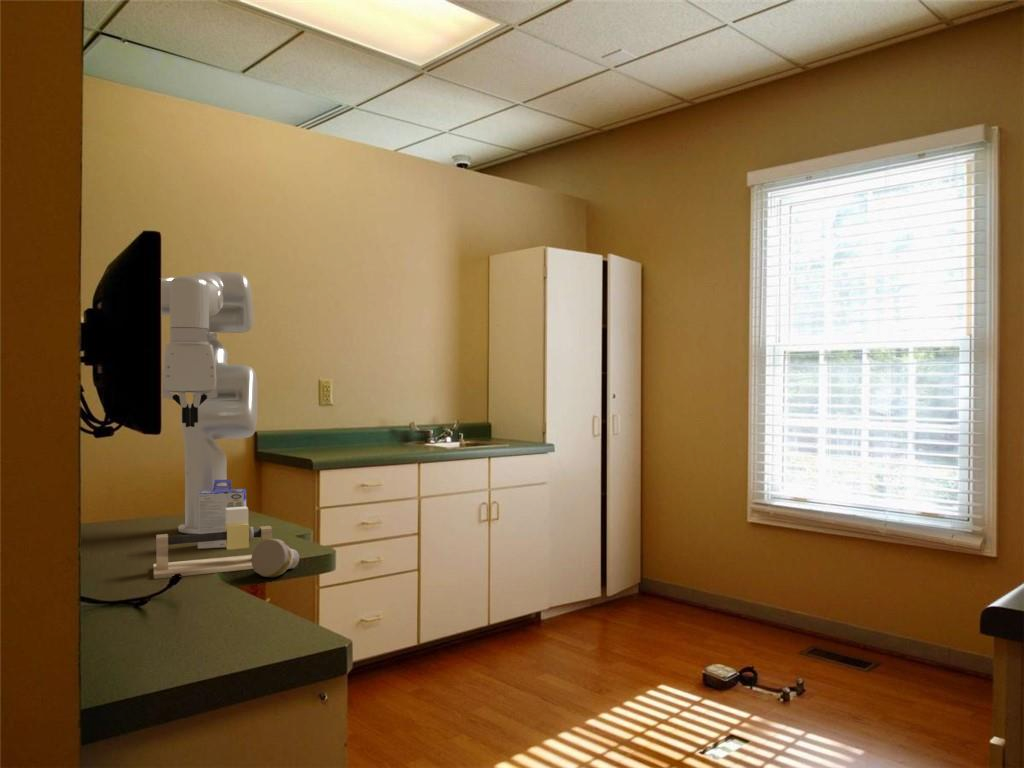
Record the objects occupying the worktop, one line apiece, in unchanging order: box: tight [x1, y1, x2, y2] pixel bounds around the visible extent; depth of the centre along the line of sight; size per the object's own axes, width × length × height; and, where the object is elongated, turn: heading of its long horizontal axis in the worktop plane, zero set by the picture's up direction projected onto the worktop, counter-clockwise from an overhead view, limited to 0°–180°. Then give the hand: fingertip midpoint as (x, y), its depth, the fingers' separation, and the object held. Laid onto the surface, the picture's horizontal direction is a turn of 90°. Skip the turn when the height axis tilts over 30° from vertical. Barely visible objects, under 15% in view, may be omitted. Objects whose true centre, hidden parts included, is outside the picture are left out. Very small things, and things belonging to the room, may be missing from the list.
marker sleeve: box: [225, 505, 250, 551], centre depth 152 cm, size 5×4×8 cm
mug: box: [251, 538, 300, 578], centre depth 146 cm, size 8×10×10 cm
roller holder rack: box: [152, 525, 273, 580], centre depth 150 cm, size 9×22×7 cm, turn 115°
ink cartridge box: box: [196, 479, 247, 550], centre depth 170 cm, size 10×6×14 cm, turn 105°
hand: (190, 426), depth 158 cm, fingers closed
